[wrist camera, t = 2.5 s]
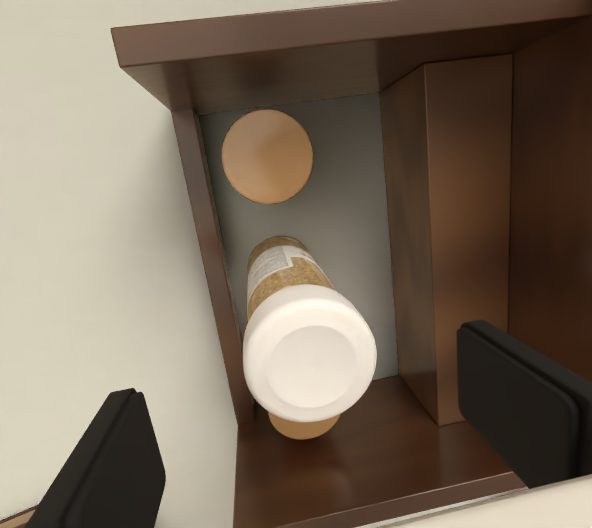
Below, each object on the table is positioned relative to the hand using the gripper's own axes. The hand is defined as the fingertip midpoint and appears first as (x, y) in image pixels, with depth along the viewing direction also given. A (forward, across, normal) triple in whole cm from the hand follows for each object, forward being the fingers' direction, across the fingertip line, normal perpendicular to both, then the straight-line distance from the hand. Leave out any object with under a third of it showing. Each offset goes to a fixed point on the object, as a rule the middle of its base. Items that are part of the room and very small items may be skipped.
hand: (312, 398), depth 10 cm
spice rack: (+15, -5, 0) cm, 15 cm away
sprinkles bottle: (+15, 0, 0) cm, 15 cm away
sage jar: (+15, 0, -7) cm, 16 cm away
